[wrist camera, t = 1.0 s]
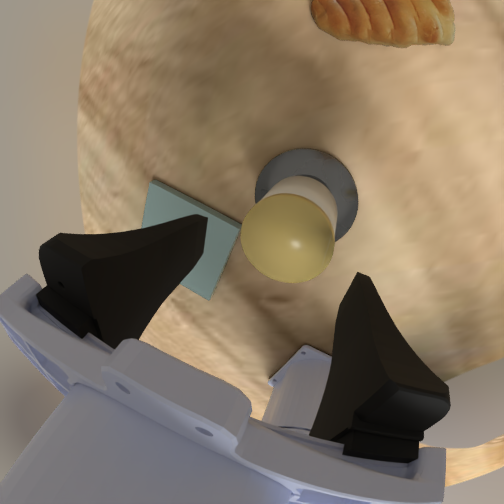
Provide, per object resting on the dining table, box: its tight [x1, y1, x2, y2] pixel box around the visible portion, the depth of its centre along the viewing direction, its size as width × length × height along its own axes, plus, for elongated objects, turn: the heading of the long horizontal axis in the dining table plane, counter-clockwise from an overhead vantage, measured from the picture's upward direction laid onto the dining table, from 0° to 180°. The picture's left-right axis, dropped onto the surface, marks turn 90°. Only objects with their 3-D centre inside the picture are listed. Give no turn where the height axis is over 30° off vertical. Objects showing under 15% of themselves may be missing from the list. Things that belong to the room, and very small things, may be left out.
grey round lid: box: [255, 148, 358, 242], centre depth 19 cm, size 8×8×2 cm
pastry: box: [311, 0, 455, 48], centre depth 10 cm, size 9×7×4 cm
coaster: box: [142, 180, 242, 300], centre depth 25 cm, size 9×9×1 cm
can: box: [240, 176, 337, 283], centre depth 16 cm, size 5×5×4 cm
